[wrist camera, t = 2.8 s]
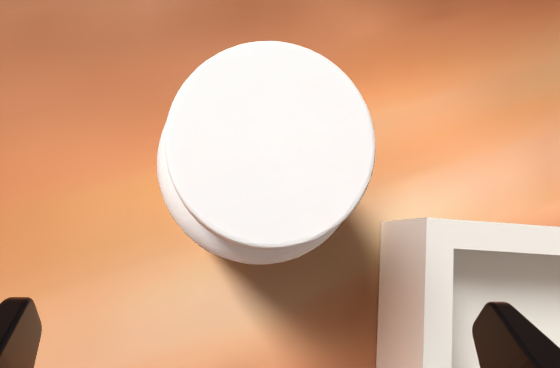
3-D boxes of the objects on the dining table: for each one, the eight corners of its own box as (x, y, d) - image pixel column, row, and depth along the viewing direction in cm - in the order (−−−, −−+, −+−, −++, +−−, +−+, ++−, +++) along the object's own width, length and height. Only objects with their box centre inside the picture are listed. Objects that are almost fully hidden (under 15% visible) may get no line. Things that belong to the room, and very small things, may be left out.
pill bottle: (328, 146, 21) (429, 65, 11) (291, 273, 20) (363, 310, 10) (202, 105, 20) (187, -21, 10) (159, 233, 19) (97, 230, 9)
